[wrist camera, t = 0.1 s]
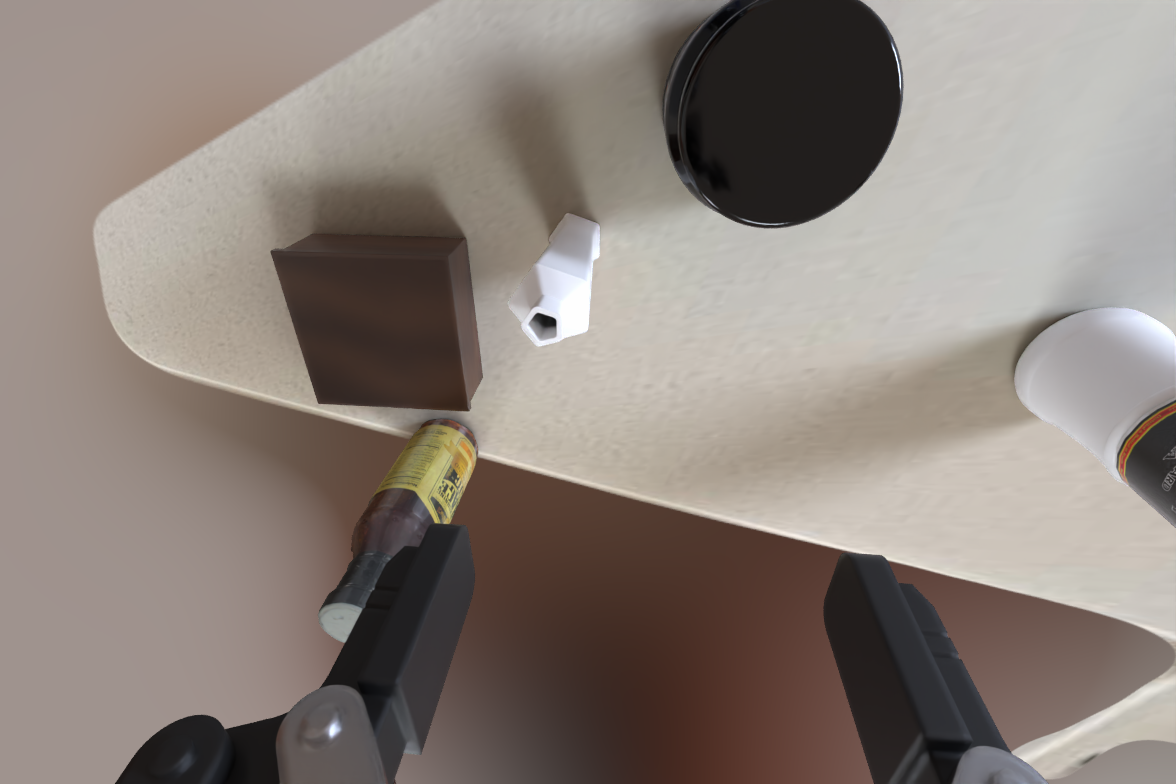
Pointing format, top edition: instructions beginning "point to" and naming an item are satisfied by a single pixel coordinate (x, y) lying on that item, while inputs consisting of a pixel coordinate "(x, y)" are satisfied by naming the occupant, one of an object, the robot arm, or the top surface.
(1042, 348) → the vodka
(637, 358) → the top surface
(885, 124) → the supplement container
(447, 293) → the box
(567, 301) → the white faceted vase
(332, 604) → the sauce bottle
